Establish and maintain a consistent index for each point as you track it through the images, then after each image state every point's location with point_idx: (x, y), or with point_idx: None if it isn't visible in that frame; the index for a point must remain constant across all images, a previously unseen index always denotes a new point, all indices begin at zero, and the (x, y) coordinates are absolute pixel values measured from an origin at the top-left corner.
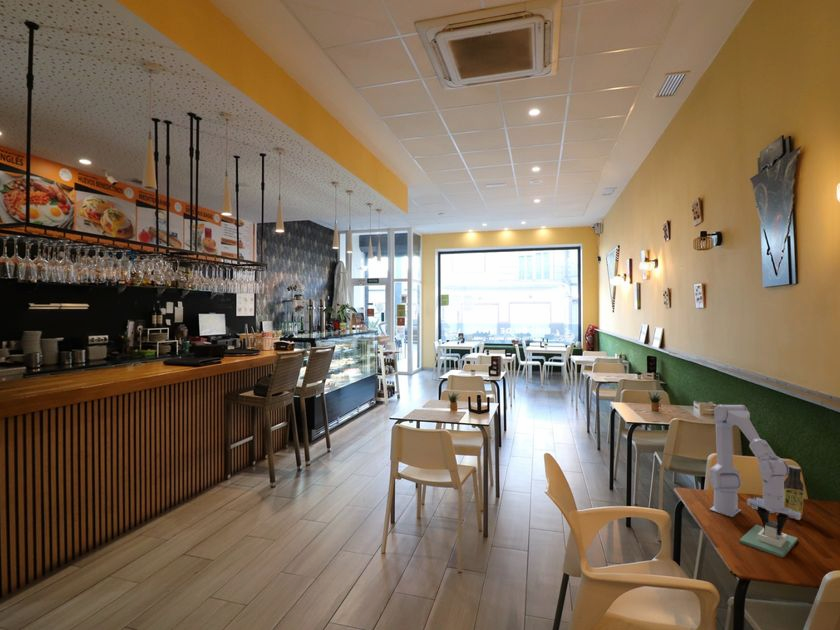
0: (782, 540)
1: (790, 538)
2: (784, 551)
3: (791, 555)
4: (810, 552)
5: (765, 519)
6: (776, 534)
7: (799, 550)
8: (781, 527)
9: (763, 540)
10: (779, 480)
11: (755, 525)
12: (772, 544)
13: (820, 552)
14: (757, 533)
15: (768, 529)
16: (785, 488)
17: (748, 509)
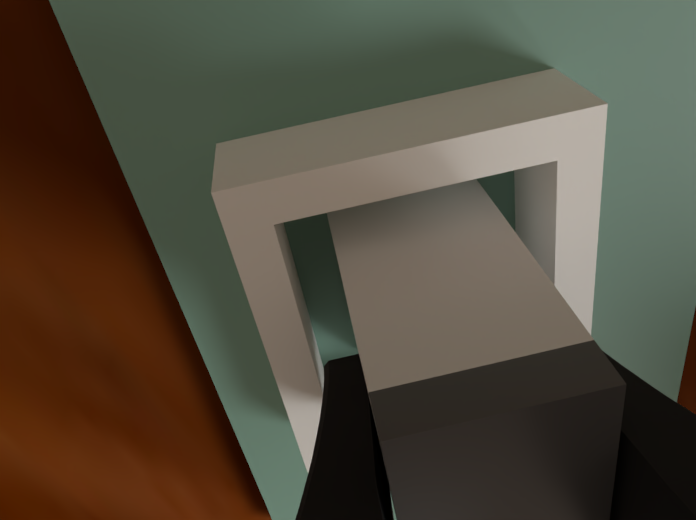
0: (247, 291)
1: None
2: (92, 50)
3: (48, 118)
4: (52, 421)
5: (671, 497)
6: (352, 325)
7: (129, 360)
8: (301, 508)
9: (471, 96)
10: None
11: None
12: (332, 118)
13: (24, 501)
14: (605, 279)
15: (494, 306)
16: None
17: None
